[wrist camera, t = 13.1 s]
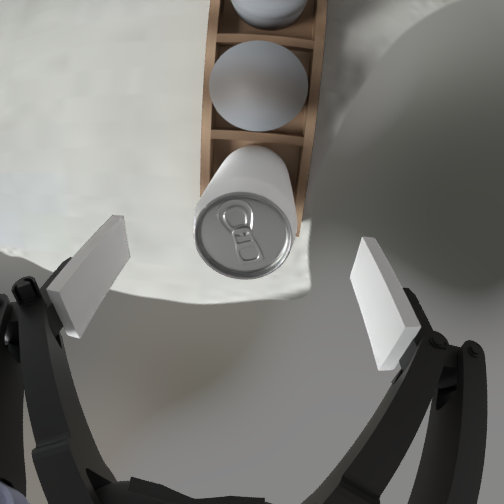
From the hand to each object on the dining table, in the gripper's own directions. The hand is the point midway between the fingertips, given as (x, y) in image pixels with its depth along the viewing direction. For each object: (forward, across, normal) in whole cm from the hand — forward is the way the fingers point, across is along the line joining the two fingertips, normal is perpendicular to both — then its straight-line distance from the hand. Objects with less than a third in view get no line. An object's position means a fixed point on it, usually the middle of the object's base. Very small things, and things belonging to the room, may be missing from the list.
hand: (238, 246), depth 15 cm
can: (+13, 0, 0) cm, 13 cm away
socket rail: (+14, 0, -8) cm, 16 cm away
